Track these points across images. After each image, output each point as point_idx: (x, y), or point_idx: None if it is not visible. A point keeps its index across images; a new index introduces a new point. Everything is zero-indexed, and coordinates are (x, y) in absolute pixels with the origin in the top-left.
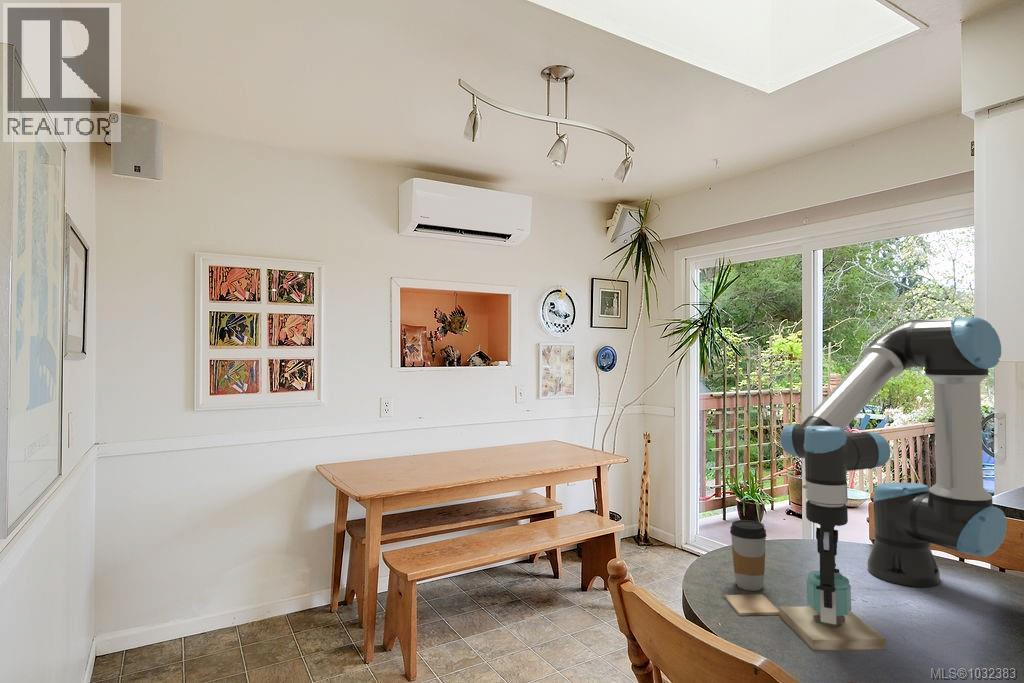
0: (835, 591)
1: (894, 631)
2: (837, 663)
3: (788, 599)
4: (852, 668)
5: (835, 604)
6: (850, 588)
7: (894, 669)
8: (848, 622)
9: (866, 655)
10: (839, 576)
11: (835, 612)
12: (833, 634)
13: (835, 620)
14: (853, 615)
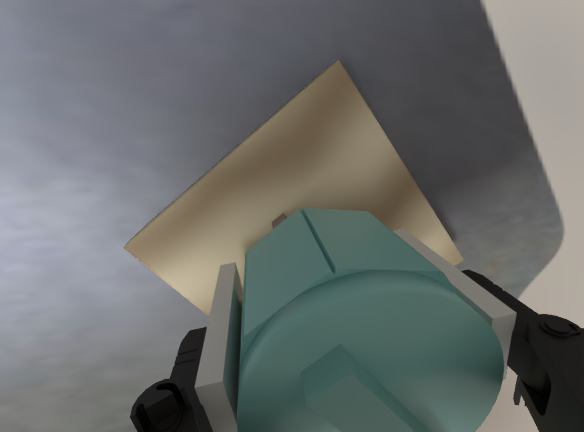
0: (514, 312)
1: (140, 50)
2: (488, 181)
3: (149, 380)
4: (500, 142)
5: (457, 269)
6: (337, 258)
7: (459, 27)
8: (274, 203)
9: (405, 119)
10: (359, 374)
11: (432, 251)
12: (401, 222)
13: (412, 237)
14: (192, 200)
